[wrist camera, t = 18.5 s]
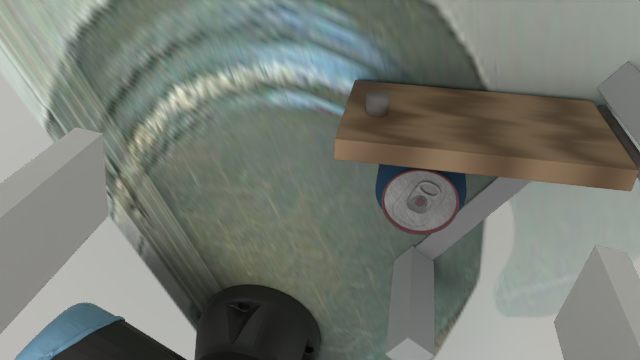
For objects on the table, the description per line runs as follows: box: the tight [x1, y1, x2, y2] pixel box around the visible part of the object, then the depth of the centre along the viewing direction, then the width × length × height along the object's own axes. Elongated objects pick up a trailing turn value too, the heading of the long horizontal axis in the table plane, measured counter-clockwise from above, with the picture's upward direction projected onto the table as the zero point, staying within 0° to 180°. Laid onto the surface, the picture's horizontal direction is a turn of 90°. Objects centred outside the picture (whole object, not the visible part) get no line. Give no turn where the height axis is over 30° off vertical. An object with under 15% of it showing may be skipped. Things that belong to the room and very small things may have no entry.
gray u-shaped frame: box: [385, 62, 640, 360], centre depth 45 cm, size 29×3×14 cm, turn 144°
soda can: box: [376, 164, 466, 235], centre depth 45 cm, size 7×7×12 cm
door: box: [334, 80, 640, 191], centre depth 41 cm, size 22×3×12 cm, turn 89°
